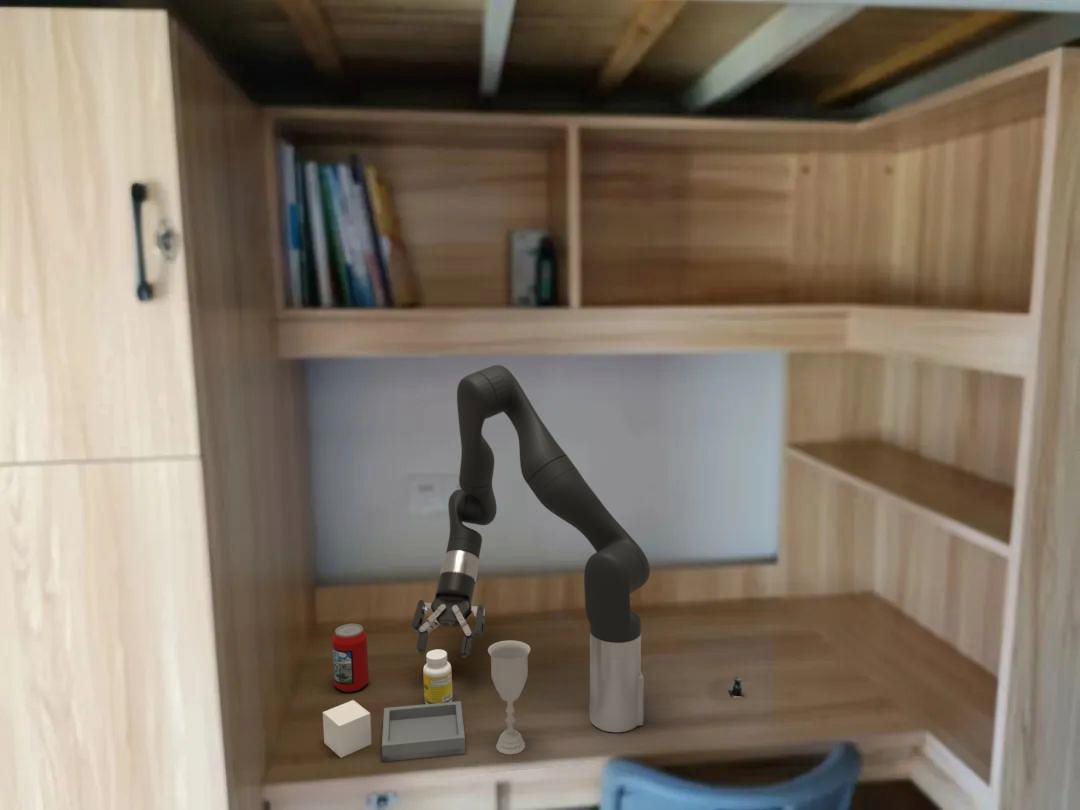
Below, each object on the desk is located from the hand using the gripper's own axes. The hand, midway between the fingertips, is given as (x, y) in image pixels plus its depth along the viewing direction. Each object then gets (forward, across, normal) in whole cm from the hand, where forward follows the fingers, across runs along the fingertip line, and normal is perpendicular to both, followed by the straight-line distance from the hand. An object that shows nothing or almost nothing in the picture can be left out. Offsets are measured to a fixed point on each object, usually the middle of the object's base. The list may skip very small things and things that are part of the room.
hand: (442, 655), depth 156 cm
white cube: (+20, -11, -8) cm, 24 cm away
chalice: (+16, +17, -5) cm, 24 cm away
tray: (+16, +1, -5) cm, 17 cm away
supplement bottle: (+8, 0, +4) cm, 9 cm away
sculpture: (-1, +57, +13) cm, 58 cm away
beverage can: (+6, -19, +6) cm, 21 cm away
